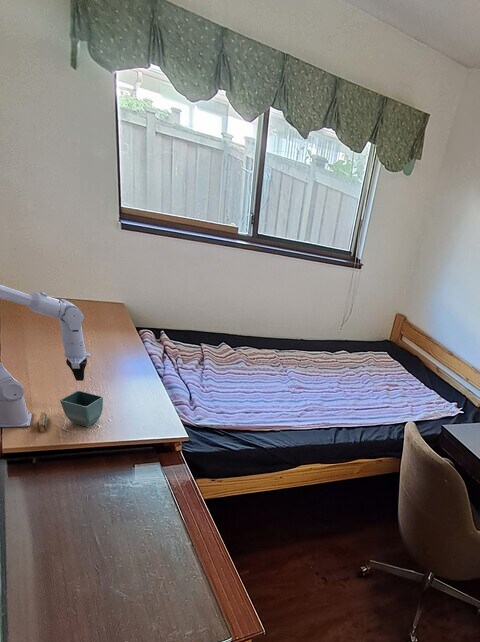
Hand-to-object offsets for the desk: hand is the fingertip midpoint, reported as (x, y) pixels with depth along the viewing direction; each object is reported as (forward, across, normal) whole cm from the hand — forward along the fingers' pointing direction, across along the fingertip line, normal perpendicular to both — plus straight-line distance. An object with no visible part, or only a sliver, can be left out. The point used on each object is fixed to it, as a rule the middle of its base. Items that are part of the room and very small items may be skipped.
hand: (79, 379), depth 153 cm
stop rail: (+10, -12, +11) cm, 19 cm away
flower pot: (+11, -11, -1) cm, 15 cm away
